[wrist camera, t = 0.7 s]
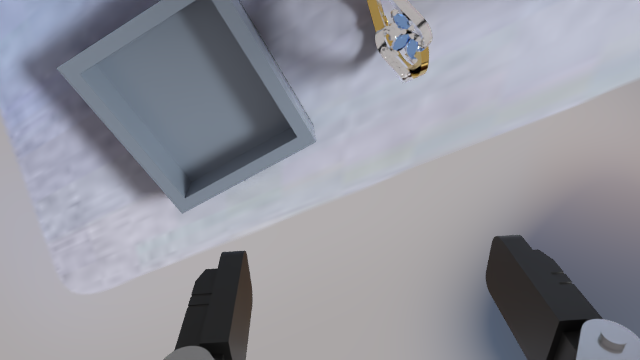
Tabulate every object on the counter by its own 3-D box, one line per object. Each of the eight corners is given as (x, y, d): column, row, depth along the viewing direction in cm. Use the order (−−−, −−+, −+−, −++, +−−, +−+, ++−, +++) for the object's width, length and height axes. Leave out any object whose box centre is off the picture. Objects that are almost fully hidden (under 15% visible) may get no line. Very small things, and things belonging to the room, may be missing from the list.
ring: (342, -18, 29) (360, -10, 22) (385, -37, 29) (418, -35, 22) (372, 74, 32) (397, 107, 25) (412, 58, 32) (448, 87, 25)
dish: (219, -34, 28) (211, -33, 25) (313, 124, 34) (316, 141, 31) (79, 56, 30) (56, 68, 27) (190, 191, 36) (182, 213, 33)
